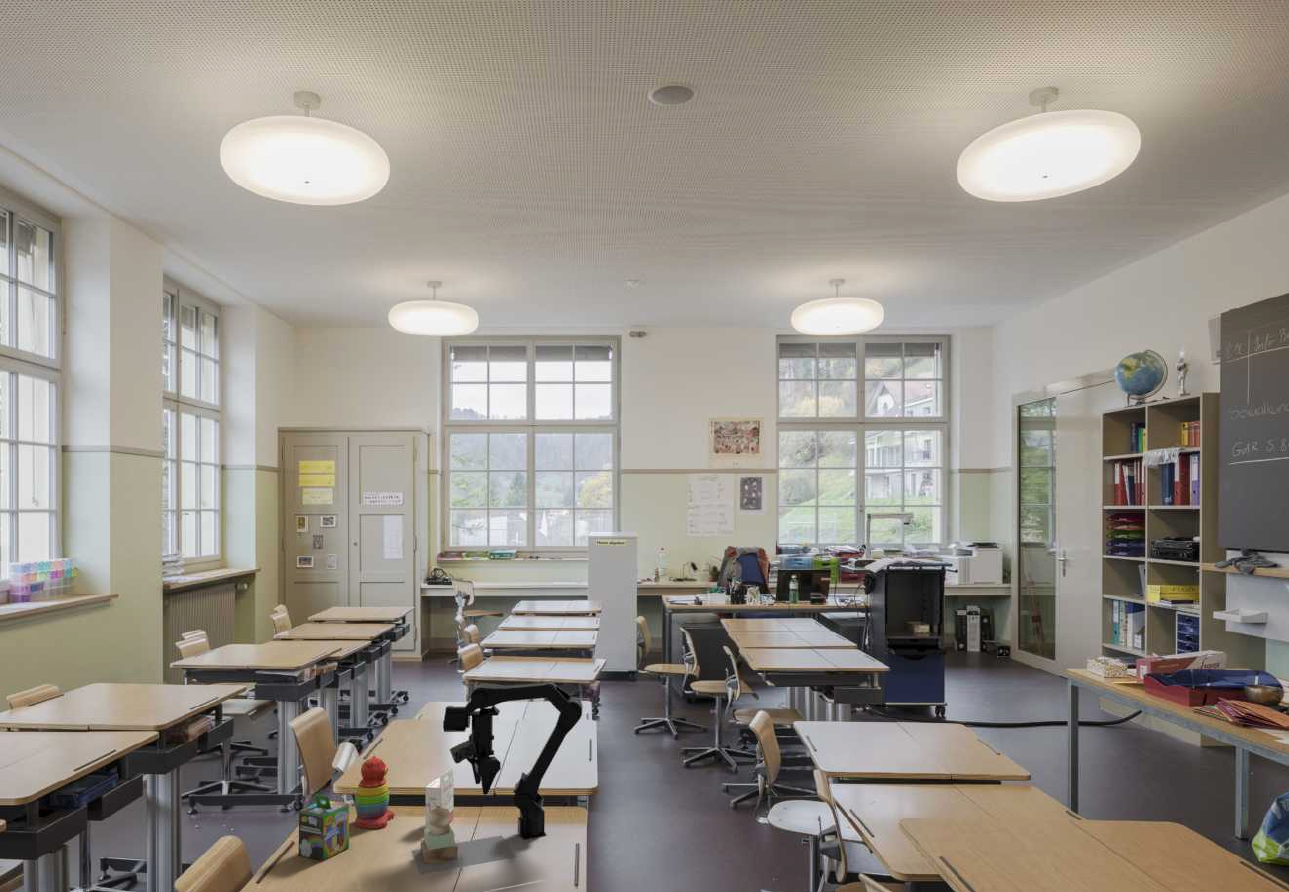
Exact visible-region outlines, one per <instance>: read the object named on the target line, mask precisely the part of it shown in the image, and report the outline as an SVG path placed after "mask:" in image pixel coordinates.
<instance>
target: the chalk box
mask: <svg viewBox="0 0 1289 892" xmlns="http://www.w3.org/2000/svg"><path fill="white" fill-rule="evenodd" d="M314 797H315V798H314V799H315V803H313V804H311V805H309V806H308V807H305V808H303V809H301V810H299V811H298V856H302V857H305V858H310V859H313V860H318V861H322V862H324V861H326V860H328V859H329V858H331V857H333V856H335V855H337V854H339V853H341V852H343V851H345V850H347V849H348V848H350V828H349V827H350V803H347V802H341V801H334V800H330V798H329V796H327V795H323V794H317V793H316V794H315V795H314Z"/></svg>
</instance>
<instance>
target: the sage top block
mask: <svg viewBox="0 0 1289 892" xmlns="http://www.w3.org/2000/svg"><path fill="white" fill-rule="evenodd" d="M423 831H424V833H423V836H424V837H423V840H424V842H425V844H426V846H427V849H428V850H434V849H440V848H446V847H452V846H454V841H455V833H454V830H453V829H452V827H451V825H450V824H449V832H448V833H446V834H444V835H431V834H430V833H429V828H424V829H423Z"/></svg>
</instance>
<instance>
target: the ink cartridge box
mask: <svg viewBox="0 0 1289 892" xmlns="http://www.w3.org/2000/svg"><path fill="white" fill-rule="evenodd" d="M447 776H448V777H447ZM454 783H455V782H454V770H453V768H450V769H449V770H447V771H446V772H444V773H443V774H442V775H440V777H437V778H436V779H435V780H433V781H432V782H430V783H429V784H428V785H427V786H425V829H428V828H429V814H430V811H431V810H434V809H438V808H446V809H449V824H450V823H451V822H452V821H453V820H454V786H455V784H454Z"/></svg>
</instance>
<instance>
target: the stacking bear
mask: <svg viewBox="0 0 1289 892" xmlns="http://www.w3.org/2000/svg"><path fill="white" fill-rule="evenodd" d="M360 768H361V769H360V774H361V776H362V779H361V780H360V781H359V783H358V785H357V787H356V793H355V796H354V806H355V807H354V808H355V811H356V812H355V813H356V815H357V816H356V817H355V823H354V824H355V825H356V826H357V827H359V828H362V829H363V828H364V829H369V830H370V829H374V830H376V829H377V830H378V829H379V830H380V829H383V828H386V827H387V826H388V821H389V819H390V820H392V819H394V817H395V816H396V815H395V812H394V810H391V809H388V806H389V802H390V792H389V785H388V783H387V779H386V778H385V776H386V775H387V773H388V771H389V768H388V765H387V764H386V763H385V762H384V761H383V760H382V759H381V758H379V757H376V756H375V755H374V756H372V757H371V758H368V759H366V760H365V761H364V762H363V763H362V765H361V767H360ZM391 818H392V819H391Z"/></svg>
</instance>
